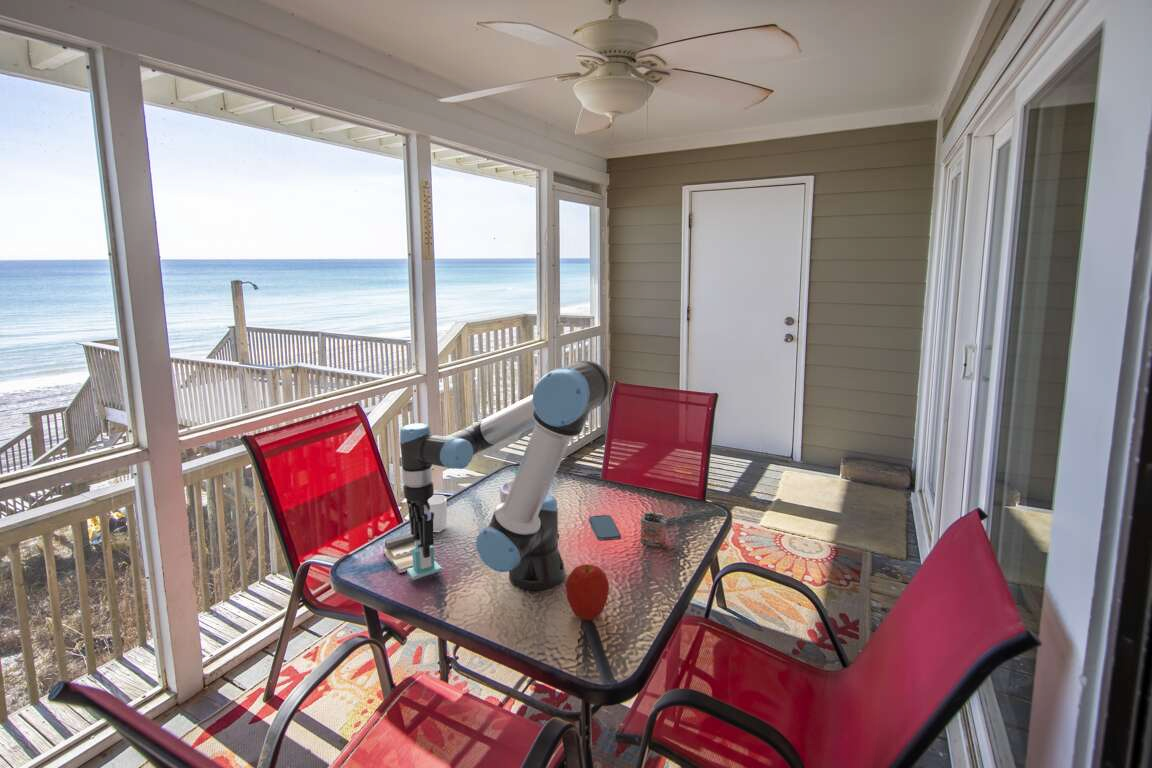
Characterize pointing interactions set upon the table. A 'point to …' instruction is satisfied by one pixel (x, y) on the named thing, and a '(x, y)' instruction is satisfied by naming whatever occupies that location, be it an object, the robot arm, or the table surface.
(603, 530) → the smartphone
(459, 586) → the table surface
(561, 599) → the table surface
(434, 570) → the teal upright sign stand
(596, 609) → the apple
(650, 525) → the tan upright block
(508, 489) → the paper bowls
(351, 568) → the table surface
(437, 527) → the white cup
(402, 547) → the ticket holder
